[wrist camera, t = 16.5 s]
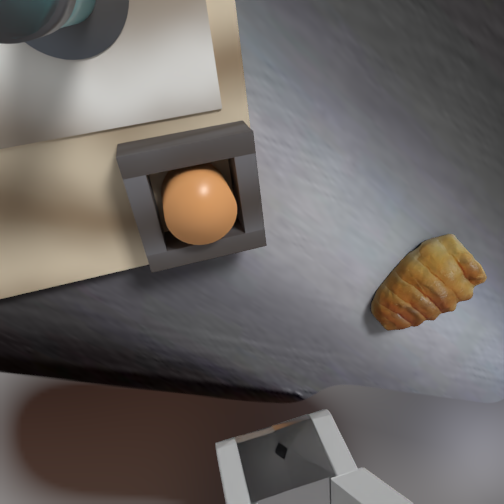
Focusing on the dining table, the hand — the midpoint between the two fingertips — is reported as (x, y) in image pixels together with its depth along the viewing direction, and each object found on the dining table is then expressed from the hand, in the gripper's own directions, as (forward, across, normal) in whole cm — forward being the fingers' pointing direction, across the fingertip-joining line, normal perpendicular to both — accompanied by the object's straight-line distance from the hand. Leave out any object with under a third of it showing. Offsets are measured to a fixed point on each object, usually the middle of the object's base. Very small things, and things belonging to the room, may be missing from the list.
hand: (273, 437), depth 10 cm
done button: (+17, 0, 0) cm, 17 cm away
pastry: (+19, -18, +13) cm, 29 cm away
